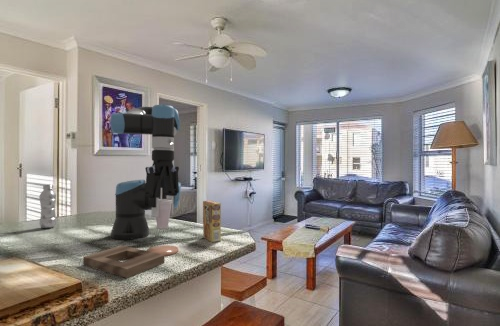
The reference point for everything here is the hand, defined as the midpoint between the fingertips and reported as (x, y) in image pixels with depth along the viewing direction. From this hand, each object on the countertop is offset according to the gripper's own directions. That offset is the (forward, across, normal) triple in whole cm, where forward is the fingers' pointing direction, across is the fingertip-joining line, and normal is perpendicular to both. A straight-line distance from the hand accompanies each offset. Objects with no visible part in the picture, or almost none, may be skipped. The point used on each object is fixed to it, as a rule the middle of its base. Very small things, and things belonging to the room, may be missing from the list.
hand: (162, 215), depth 106 cm
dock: (+13, -15, +1) cm, 20 cm away
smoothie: (+5, 0, 0) cm, 5 cm away
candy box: (+13, +22, -5) cm, 26 cm away
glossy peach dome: (+13, 0, 0) cm, 13 cm away
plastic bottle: (+13, -2, +71) cm, 72 cm away
